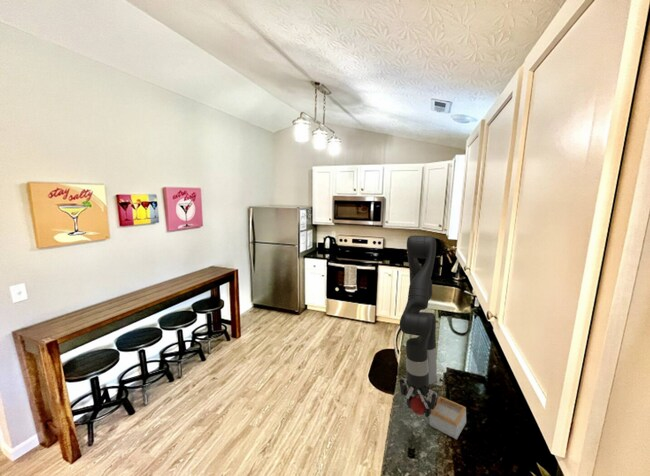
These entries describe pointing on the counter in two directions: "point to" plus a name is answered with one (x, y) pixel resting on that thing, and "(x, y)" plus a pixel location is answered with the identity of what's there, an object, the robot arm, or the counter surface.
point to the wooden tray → (448, 417)
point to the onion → (417, 405)
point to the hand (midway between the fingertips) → (418, 411)
